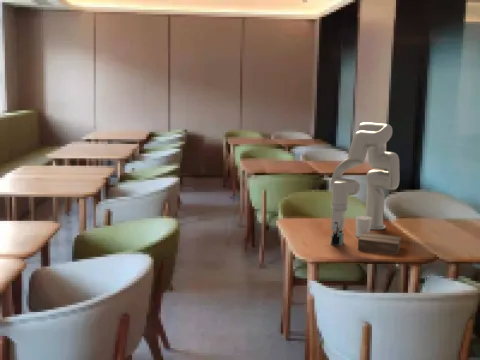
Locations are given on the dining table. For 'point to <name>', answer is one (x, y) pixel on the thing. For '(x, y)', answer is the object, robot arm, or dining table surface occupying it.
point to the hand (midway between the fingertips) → (337, 242)
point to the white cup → (363, 225)
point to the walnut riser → (379, 243)
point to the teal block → (341, 237)
